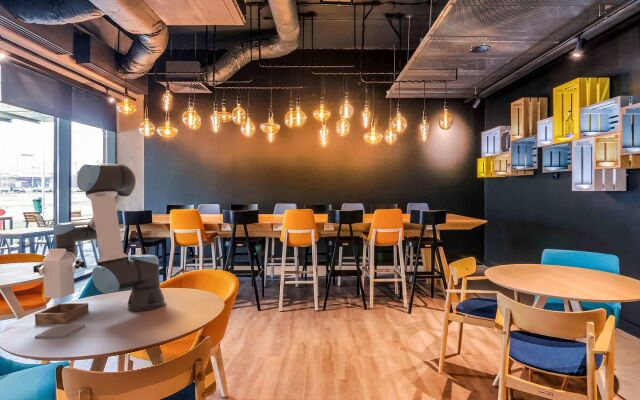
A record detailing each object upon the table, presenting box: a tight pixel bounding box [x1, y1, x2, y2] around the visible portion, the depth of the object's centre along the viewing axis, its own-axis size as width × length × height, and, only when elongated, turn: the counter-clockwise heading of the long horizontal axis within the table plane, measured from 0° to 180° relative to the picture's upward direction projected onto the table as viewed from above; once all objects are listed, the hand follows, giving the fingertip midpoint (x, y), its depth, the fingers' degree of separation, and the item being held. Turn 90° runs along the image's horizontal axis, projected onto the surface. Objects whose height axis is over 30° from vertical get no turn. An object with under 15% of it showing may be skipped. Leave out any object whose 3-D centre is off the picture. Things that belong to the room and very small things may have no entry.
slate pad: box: [34, 323, 86, 339], centre depth 138 cm, size 11×11×1 cm
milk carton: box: [42, 248, 76, 299], centre depth 148 cm, size 7×7×19 cm
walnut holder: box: [34, 302, 90, 325], centre depth 153 cm, size 13×13×4 cm
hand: (57, 270), depth 144 cm, fingers closed on milk carton, 10 cm apart
